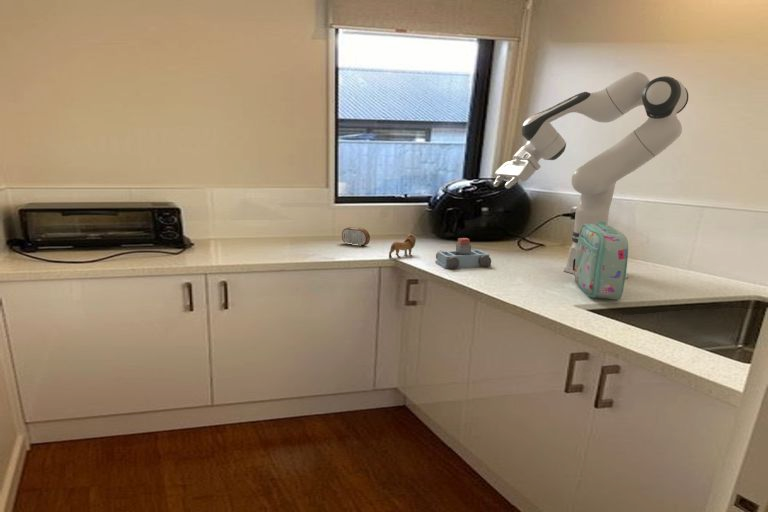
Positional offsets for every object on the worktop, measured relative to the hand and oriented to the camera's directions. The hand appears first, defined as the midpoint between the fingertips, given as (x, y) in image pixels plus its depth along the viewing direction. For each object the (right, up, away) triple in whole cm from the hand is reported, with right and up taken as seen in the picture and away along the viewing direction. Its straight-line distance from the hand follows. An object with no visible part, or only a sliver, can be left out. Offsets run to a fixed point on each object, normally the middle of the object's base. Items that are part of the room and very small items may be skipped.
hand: (500, 186), depth 187 cm
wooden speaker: (-59, -22, +40) cm, 75 cm away
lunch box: (+21, -39, -37) cm, 57 cm away
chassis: (-15, -31, 0) cm, 34 cm away
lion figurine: (-38, -28, +15) cm, 49 cm away
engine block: (-15, -29, 0) cm, 33 cm away
